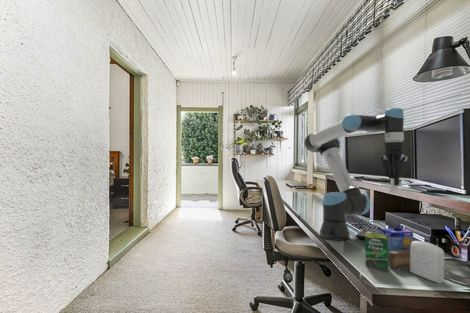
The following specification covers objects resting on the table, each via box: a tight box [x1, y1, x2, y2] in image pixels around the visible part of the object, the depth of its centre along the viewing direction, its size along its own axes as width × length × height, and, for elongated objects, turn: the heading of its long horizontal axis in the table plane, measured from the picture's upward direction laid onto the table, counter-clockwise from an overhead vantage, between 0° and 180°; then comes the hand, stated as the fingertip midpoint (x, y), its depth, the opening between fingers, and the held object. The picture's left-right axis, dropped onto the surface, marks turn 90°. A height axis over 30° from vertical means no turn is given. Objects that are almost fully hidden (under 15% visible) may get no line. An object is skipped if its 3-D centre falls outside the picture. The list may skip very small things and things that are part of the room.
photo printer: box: [409, 240, 445, 284], centre depth 92 cm, size 10×4×12 cm, turn 24°
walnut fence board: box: [389, 249, 410, 271], centre depth 102 cm, size 2×20×6 cm, turn 108°
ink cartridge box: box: [382, 224, 413, 256], centre depth 108 cm, size 10×6×14 cm, turn 98°
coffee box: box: [364, 231, 390, 271], centre depth 100 cm, size 8×3×13 cm, turn 49°
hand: (394, 192), depth 120 cm, fingers closed
